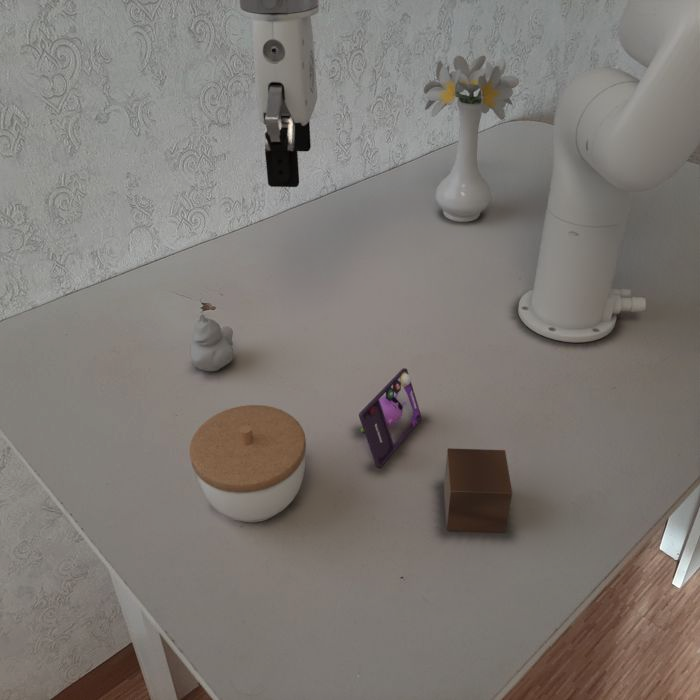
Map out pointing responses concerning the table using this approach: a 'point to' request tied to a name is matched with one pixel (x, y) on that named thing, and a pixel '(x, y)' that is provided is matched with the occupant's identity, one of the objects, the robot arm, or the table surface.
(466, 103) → the flower vase
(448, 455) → the walnut block
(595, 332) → the robot arm
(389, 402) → the game card
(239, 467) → the trinket box
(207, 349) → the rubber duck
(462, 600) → the table surface
